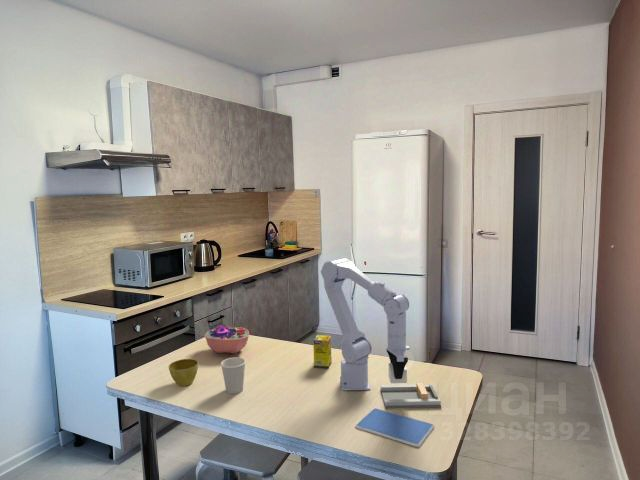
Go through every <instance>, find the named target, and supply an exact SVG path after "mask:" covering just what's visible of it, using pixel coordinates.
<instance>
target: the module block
mask: <svg viewBox="0 0 640 480" xmlns="http://www.w3.org/2000/svg"><path fill="white" fill-rule="evenodd" d="M388 379H389V382H390V384H408V369H407V366H406V365H405V368H404V372H403V376H402V379H395V377H394V371H393V366H392V363H391V362H388Z"/></svg>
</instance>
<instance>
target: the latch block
mask: <svg viewBox="0 0 640 480" xmlns="http://www.w3.org/2000/svg"><path fill="white" fill-rule="evenodd" d="M415 385H416V390H417V392H418V395H419V397H420V399H428V393H427V391H426V389H425V387H424V385H425V384H424V383H423V382H416V383H415Z"/></svg>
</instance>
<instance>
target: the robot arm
mask: <svg viewBox="0 0 640 480" xmlns="http://www.w3.org/2000/svg"><path fill="white" fill-rule="evenodd" d="M354 263H355V262H353V261H350V259H349V258H346V257H342V258H339V259H335V260H329V261H325V262H324V263H323V264H322V268H321V270H320V274H321V277H322V279H323V287H324V290H325V293H326V296H327V298H328V301H329V303H330V306H331V308H332V310H333V313H334V316H335V319H336V320H337V323H338V326H339V328H340V331H341V334H342V338H341V340H340V343H339V344H340V346H341V355H342V358H343V359H342V360H340V377H339V378H340V379H339V381H340V382H341V383H340V384H341V391H363V390H364V391H368V390H371V387H370V386H371V385H370V382H369V366H368V364H369V362H368V361H369V360H368V359H369V355H370V354H371V353H372V351H373V349H372V348H373V347H372V344H371V342H370V340H369V339H368V338H367V337H366V334H365V333H364V332H362V331H361V330H359V329H358V327H357V324H356V322H355V319H354V316H353V314H352V312H351V309H350V306H349V304H348V302H347V301H348V300H347V299H346V296H345V294H344V292H343V290H342V289H343V288H342V286H343V284H344V282H345V281H346V280H347V279H349V280H350V281H351V282H354V283H355V284H357V285H358V286H359V287H361V288H363V289H365V290H366V291H367V295H368V297H370V298H371V299H372V300H374V301H375V302H376V303H378V304H379V305H380V306H382V307H383V310H384V312H385V314H386V319H387V346H386V349H385V352H386V353H387V355H388V358H389V361H390V362H389V363H392V366H393V371H394V377H395V379H402V376H403V372H404V368H405V366H406V365H407V363H408V362H409V359H408V357H405V354H406V352H407V351H410V349H411V347H410V346H409V345H407V313H406V312H407V311H408V310H409V308H410V302H409V299H408V298H407V296H405V295H404V294H402V293H397V292H396V291H394V290H392V289H390V288H388V287H387V286H386V285H385V282H383V281H381V282H380V281H373V280H372V279H371V278H369V277H368V276H367V275H366V274H365V273H364V272H362V270H360V269H359V268H357V267H356V266H355V265H356V264H354Z"/></svg>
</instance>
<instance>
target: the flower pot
mask: <svg viewBox="0 0 640 480" xmlns="http://www.w3.org/2000/svg"><path fill="white" fill-rule="evenodd" d="M198 368H199V361H198V360H197V359H194V358H181V359H178V360H175V361H172V362H171V363H169V365H168V370H169V373H170V376H171V378H172V380H173V381H174V382H175V384H176V385H177V386H178V387H188V386H191V385H192V384H193V382H194V380H195V378H196V375H197V373H198V370H199V369H198Z"/></svg>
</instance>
